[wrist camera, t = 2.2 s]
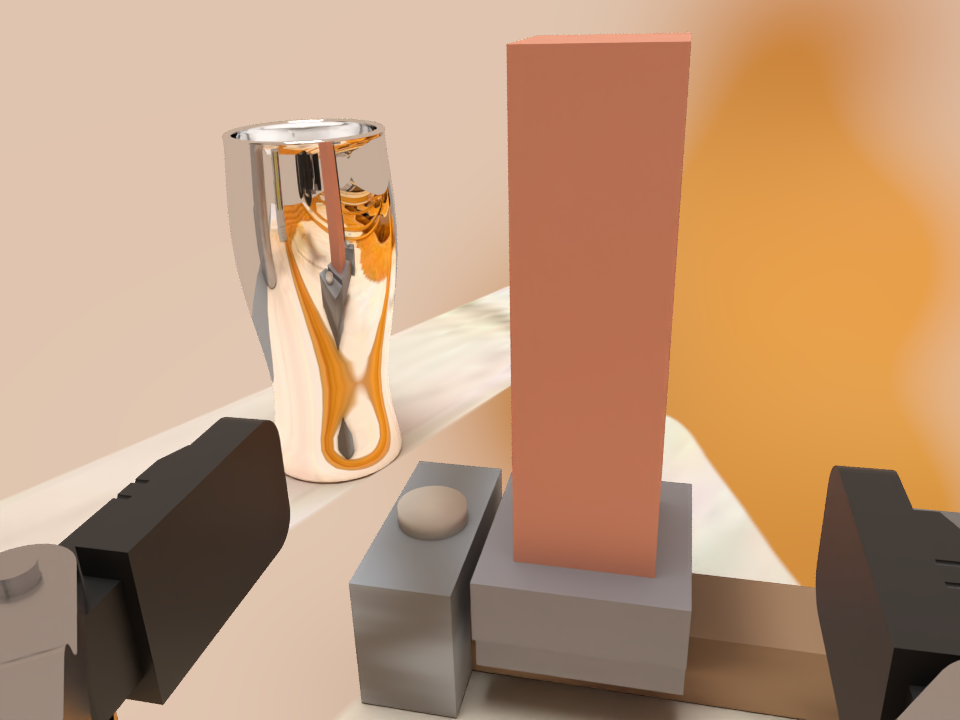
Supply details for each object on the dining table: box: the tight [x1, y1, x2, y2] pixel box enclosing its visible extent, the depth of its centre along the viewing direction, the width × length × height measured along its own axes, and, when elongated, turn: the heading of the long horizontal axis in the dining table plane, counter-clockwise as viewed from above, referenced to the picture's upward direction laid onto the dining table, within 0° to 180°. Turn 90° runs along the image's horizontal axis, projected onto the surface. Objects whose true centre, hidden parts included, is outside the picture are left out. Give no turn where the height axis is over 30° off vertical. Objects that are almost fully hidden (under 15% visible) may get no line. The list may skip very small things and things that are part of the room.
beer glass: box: [222, 119, 402, 483], centre depth 37 cm, size 7×7×15 cm
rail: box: [349, 461, 960, 720], centre depth 26 cm, size 19×7×5 cm, turn 77°
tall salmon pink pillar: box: [470, 33, 692, 695], centre depth 24 cm, size 6×6×17 cm
